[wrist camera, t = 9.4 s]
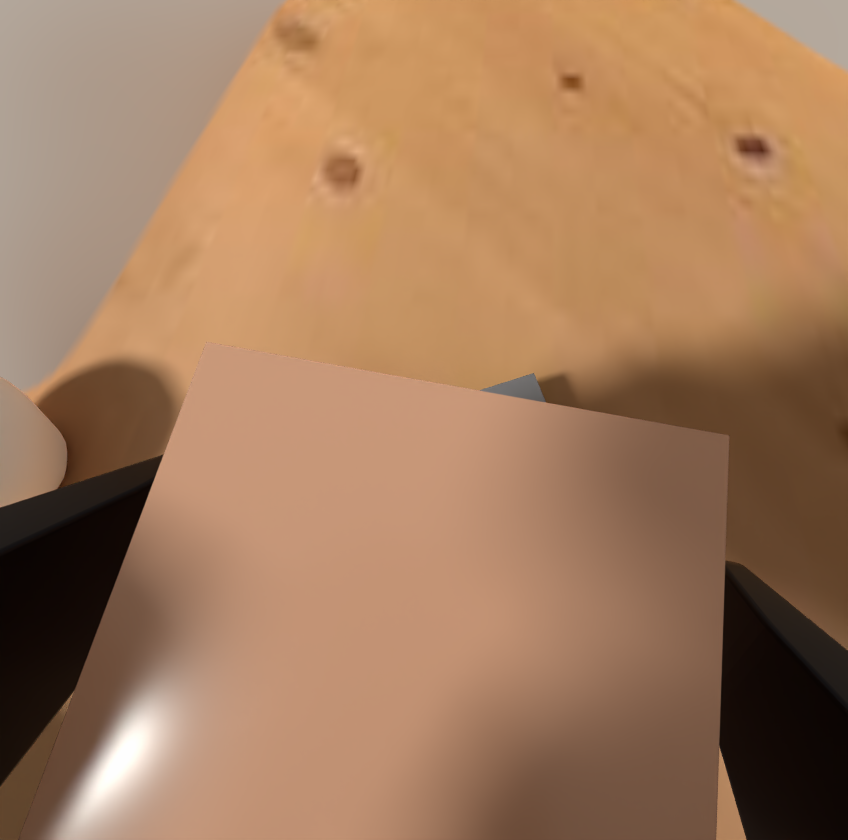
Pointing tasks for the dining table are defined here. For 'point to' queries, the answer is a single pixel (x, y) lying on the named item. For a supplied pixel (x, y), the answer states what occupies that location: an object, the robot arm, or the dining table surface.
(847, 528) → the dining table surface
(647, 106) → the dining table surface
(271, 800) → the tan rectangular block
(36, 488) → the plain white apple
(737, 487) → the dining table surface
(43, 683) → the robot arm
